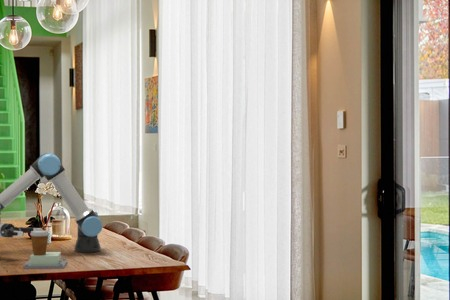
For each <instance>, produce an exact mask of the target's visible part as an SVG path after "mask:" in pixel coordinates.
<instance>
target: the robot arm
mask: <svg viewBox="0 0 450 300" xmlns="http://www.w3.org/2000/svg"><path fill="white" fill-rule="evenodd" d="M65 173H66V169H65V167H64V165H63V164H62V163H61V161H60V158H59V157H58V156H57V155H56V154H53V153H47V152H46V153H43V154H41V155H40V156H39V157H38V158H37V159H36V160H35V161H34V162H33V163H32V164H31V165H30V166H29V168H28V170H27V171H25V172H24V173H23V174H22V175H21V176H20V177H18V178H17V179H16V180H14V182H12V183H11V184H10V185H9V186H8V187H6V188H5V189H4V190H3V191H2V192H1V193H0V214H1V211H3V210H4V209H5V208H6V207H7V206H8V205H9V204H11V203H12V202H13V201H14V200H15V199H16V198H18V197H19V196H20V195H21V194H23V192H25V191H26V190H28V189H29V187H31V186H32V185H33V184H34V183H36V182H37V181H38V180H39V179H43V178H45V179H46V181H47V182H50V183H52V185H53V186H54V188H55V189H56V190H57V192H58V193H59V195H60V197H61V198H62V199H63V201H64V202H65V204H66V205H67V207H68V208H69V209H70V211H71V213H72V214H73V216H74V217H75V218H74V222H75V223H76V224H77V240H76V241H75V245H74V250H73V251H74V252H76V253H87V254H88V253H98V252H101V243H100V241H99V237H98V235H99V234H100V233H101V232H102V231H103V230H102V229H103V222H102V220H101V219H100V217H99V215H98V214H99V213H98V212H97V211H94V210H93V208H89V207H88V205H87V204H86V203H85V201H84V199H83V198H82V197H81V195H80V194H79V192H78V190H77V189H76V188H75V187H74V185H73V183H72V181H70V179H69V178H68V176H67V175H66V174H65ZM37 230H44V229H43V228H39V227H36V226H33V227H22V226H20V227H18V226H15V225H14V224H12V223H6V222H2V220H1V218H0V238H2V239H3V238H14V237H20V238H23V237H24V234H31V231H37Z"/></svg>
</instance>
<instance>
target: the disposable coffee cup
mask: <svg viewBox="0 0 450 300" xmlns="http://www.w3.org/2000/svg"><path fill="white" fill-rule="evenodd" d="M29 234H30V237H31V238H30V239H31V244H32V245H31V247H32V248H31V249H32V254H33V255H45V254H46V252H47V248H48V247H47V246H48V240H49V235H50V233H49V231H48V230H44V229H43V230H37V231H31V233H29Z"/></svg>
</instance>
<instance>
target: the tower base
mask: <svg viewBox="0 0 450 300" xmlns="http://www.w3.org/2000/svg"><path fill="white" fill-rule="evenodd" d="M67 263H68V259H67V258H62V252H61V251H46V254H45V255H33V253H32V254H30V256H29V259H28V260H27V261H26V262H25V263H24V264H23V266H22V268H23V270H27V269H28V270H45V269H46V270H47V269H53V270H54V269H55V270H56V269H58V270H59V269H61V270H62V269H65V267H66V265H67Z"/></svg>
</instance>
